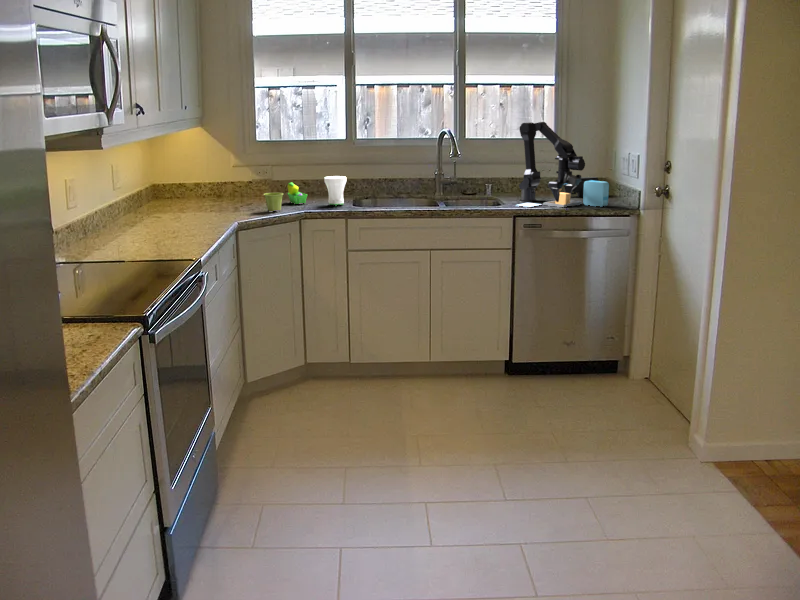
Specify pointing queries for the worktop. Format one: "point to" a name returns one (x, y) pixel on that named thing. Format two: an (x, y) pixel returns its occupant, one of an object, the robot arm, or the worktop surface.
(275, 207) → the plant pot
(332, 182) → the cup
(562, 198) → the module
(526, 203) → the mat
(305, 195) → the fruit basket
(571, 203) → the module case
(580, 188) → the security camera
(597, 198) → the data package
